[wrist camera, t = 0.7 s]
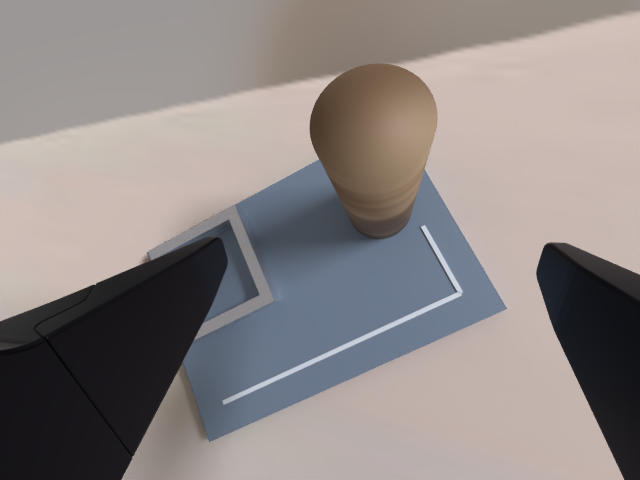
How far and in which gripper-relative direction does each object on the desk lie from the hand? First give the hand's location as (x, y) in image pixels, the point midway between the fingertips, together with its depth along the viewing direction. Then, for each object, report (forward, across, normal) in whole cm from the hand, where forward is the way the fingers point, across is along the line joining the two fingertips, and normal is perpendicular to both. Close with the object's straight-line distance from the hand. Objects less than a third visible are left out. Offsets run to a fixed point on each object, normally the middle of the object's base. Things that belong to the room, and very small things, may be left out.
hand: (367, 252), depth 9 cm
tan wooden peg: (+13, 0, +5) cm, 14 cm away
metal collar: (+10, +12, +9) cm, 18 cm away
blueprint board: (+11, +5, +9) cm, 15 cm away
